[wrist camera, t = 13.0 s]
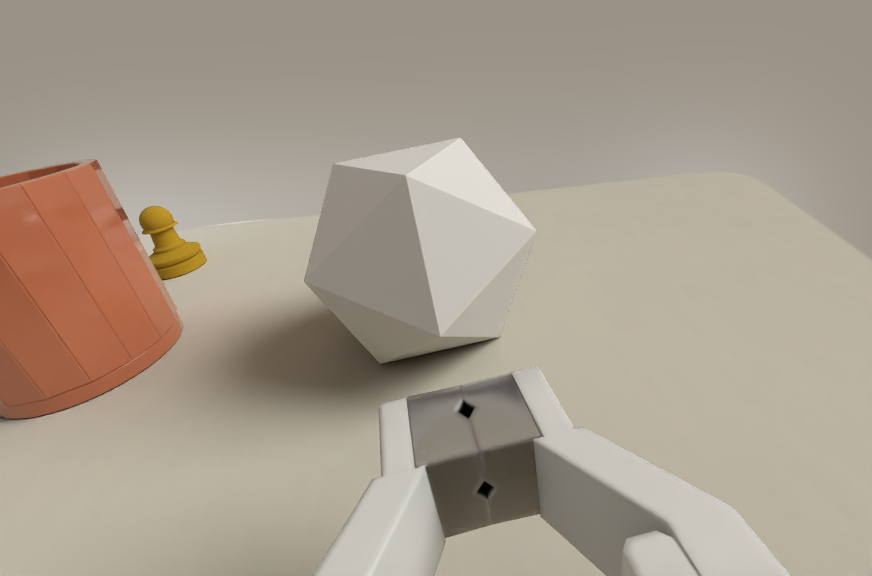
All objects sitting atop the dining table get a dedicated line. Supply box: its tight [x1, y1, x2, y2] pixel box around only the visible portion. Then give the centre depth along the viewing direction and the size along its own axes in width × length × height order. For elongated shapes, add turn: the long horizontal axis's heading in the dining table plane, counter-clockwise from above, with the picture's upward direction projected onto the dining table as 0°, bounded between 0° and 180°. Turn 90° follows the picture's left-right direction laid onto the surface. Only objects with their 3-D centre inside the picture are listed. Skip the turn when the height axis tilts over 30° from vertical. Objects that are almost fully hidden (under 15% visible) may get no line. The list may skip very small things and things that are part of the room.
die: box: [304, 138, 537, 364], centre depth 18 cm, size 8×9×10 cm
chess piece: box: [139, 206, 206, 279], centre depth 33 cm, size 4×4×5 cm
